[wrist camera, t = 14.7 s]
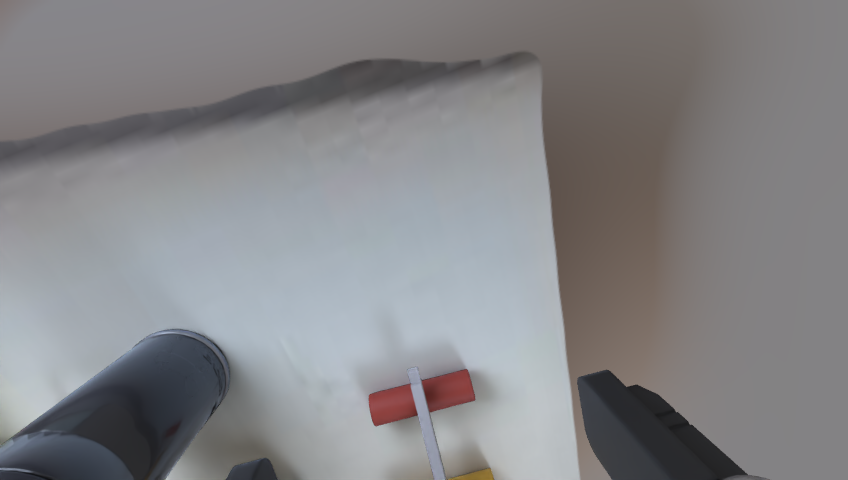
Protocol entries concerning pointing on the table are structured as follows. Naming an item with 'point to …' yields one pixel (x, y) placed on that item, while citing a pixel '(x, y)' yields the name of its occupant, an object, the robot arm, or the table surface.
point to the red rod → (437, 394)
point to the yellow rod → (476, 475)
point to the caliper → (426, 424)
